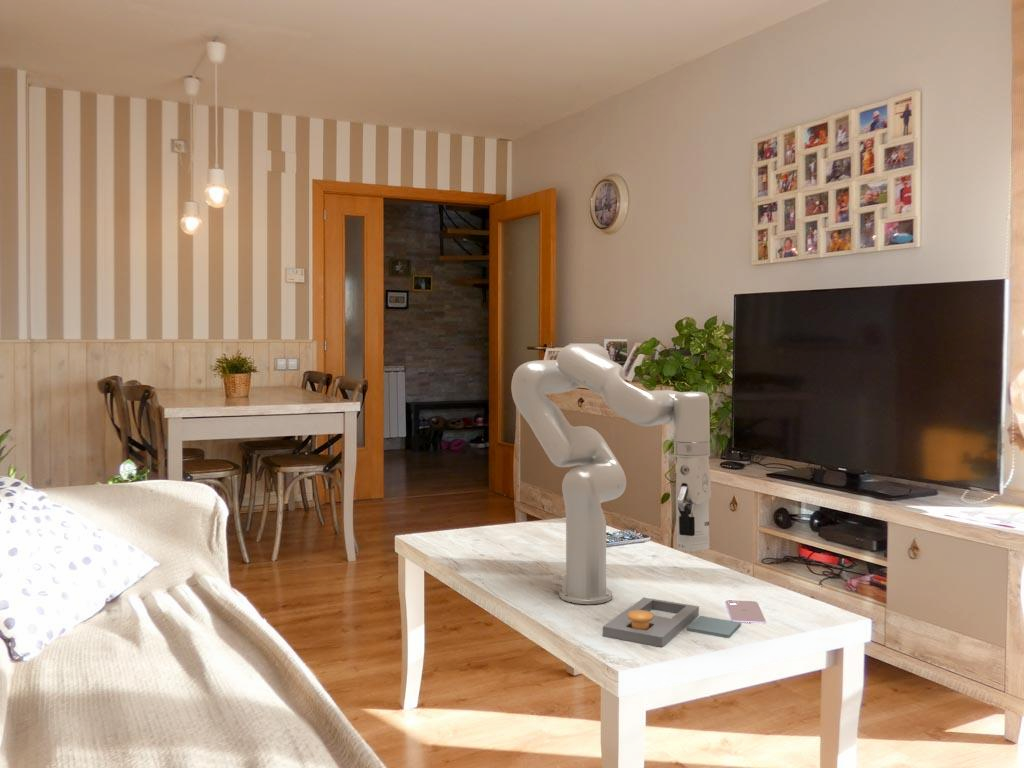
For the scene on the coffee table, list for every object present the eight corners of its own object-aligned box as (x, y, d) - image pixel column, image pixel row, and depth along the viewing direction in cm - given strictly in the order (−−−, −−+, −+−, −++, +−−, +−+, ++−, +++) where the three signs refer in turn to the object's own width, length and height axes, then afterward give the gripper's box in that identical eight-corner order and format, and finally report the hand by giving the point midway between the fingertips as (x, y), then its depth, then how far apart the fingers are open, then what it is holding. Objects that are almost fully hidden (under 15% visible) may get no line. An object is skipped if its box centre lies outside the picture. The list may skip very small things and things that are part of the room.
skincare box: (690, 552, 180) (689, 495, 179) (675, 549, 184) (674, 493, 183) (711, 548, 183) (710, 492, 183) (695, 544, 187) (695, 490, 187)
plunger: (623, 636, 177) (623, 615, 176) (633, 628, 181) (633, 608, 181) (647, 640, 174) (647, 619, 174) (656, 633, 178) (656, 612, 178)
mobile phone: (731, 619, 185) (724, 598, 200) (731, 624, 185) (724, 603, 200) (767, 621, 184) (757, 600, 199) (767, 625, 184) (757, 604, 199)
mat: (686, 630, 180) (686, 627, 180) (700, 618, 188) (700, 615, 188) (728, 637, 176) (729, 635, 176) (740, 625, 183) (740, 622, 183)
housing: (602, 635, 177) (602, 626, 177) (643, 606, 197) (643, 597, 197) (662, 647, 170) (662, 637, 170) (698, 615, 190) (698, 606, 190)
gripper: (695, 454, 173) (696, 541, 174) (721, 445, 188) (722, 525, 189) (660, 453, 177) (662, 538, 178) (688, 444, 192) (689, 523, 193)
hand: (693, 531), depth 183 cm, fingers closed on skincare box, 7 cm apart
